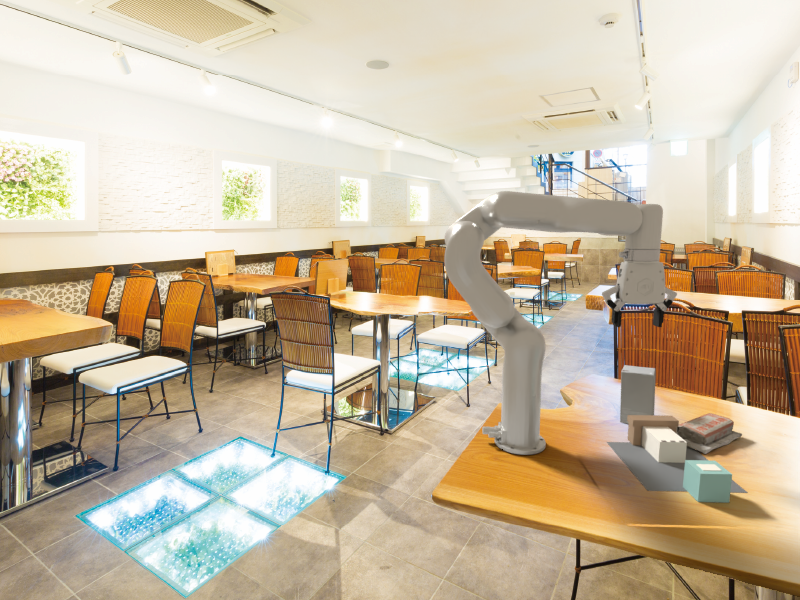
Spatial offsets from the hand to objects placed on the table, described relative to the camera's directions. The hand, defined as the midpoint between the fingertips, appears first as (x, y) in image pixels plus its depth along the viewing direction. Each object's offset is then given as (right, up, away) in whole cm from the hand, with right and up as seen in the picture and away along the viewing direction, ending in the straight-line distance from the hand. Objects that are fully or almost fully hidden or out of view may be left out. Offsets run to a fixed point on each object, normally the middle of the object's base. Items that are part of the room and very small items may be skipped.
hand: (636, 326), depth 113 cm
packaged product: (+20, -30, +5) cm, 36 cm away
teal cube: (+4, -33, -19) cm, 39 cm away
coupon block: (+5, -30, -1) cm, 31 cm away
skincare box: (+8, -28, +16) cm, 34 cm away
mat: (+4, -32, -7) cm, 33 cm away
